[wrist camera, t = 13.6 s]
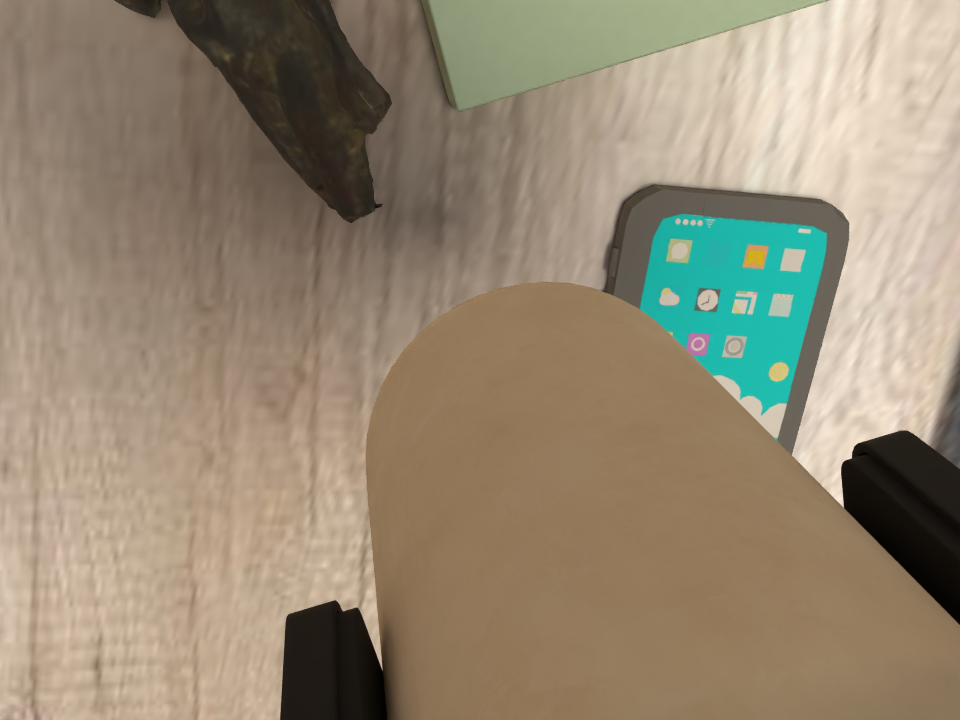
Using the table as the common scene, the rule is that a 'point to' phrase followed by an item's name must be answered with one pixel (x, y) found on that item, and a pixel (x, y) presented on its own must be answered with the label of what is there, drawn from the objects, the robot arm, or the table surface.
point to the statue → (294, 86)
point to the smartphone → (736, 287)
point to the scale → (568, 37)
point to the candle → (620, 538)
